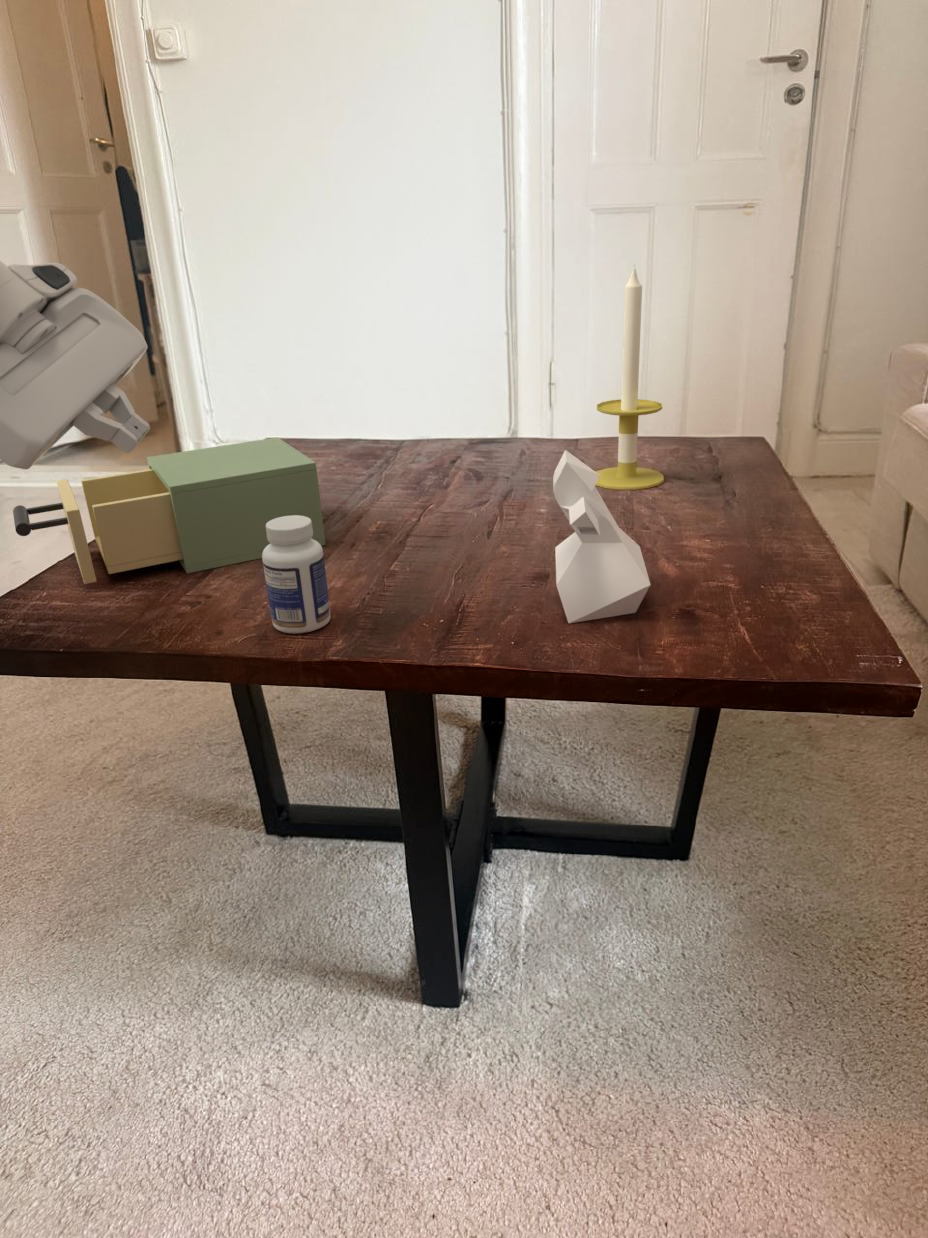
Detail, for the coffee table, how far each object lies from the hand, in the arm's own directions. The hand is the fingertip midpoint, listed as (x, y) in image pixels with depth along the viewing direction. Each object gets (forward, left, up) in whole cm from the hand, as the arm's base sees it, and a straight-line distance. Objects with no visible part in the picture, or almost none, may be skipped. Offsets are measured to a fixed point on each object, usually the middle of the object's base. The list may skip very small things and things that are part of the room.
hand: (140, 440), depth 74 cm
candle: (+62, +13, -17) cm, 66 cm away
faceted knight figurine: (+36, -17, -17) cm, 43 cm away
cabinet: (+11, +19, -17) cm, 27 cm away
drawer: (-2, +19, -16) cm, 25 cm away
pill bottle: (+10, -7, -17) cm, 21 cm away
